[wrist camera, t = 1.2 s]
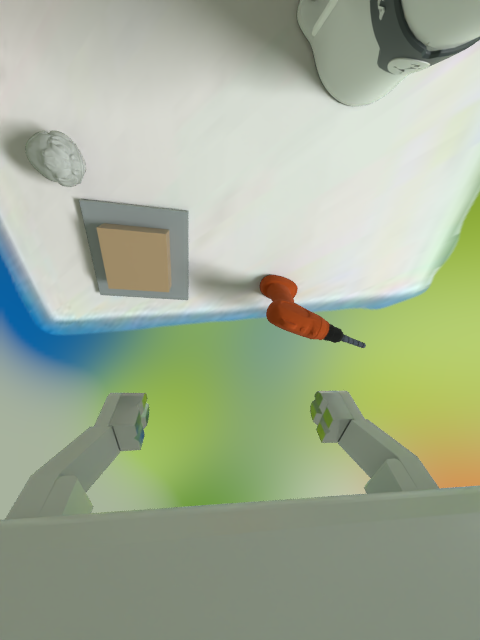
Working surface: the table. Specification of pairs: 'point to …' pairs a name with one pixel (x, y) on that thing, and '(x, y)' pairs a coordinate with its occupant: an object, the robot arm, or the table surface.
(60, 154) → the grey lumpy sculpture
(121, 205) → the baseplate
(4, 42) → the table surface
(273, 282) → the toy drill
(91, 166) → the table surface
